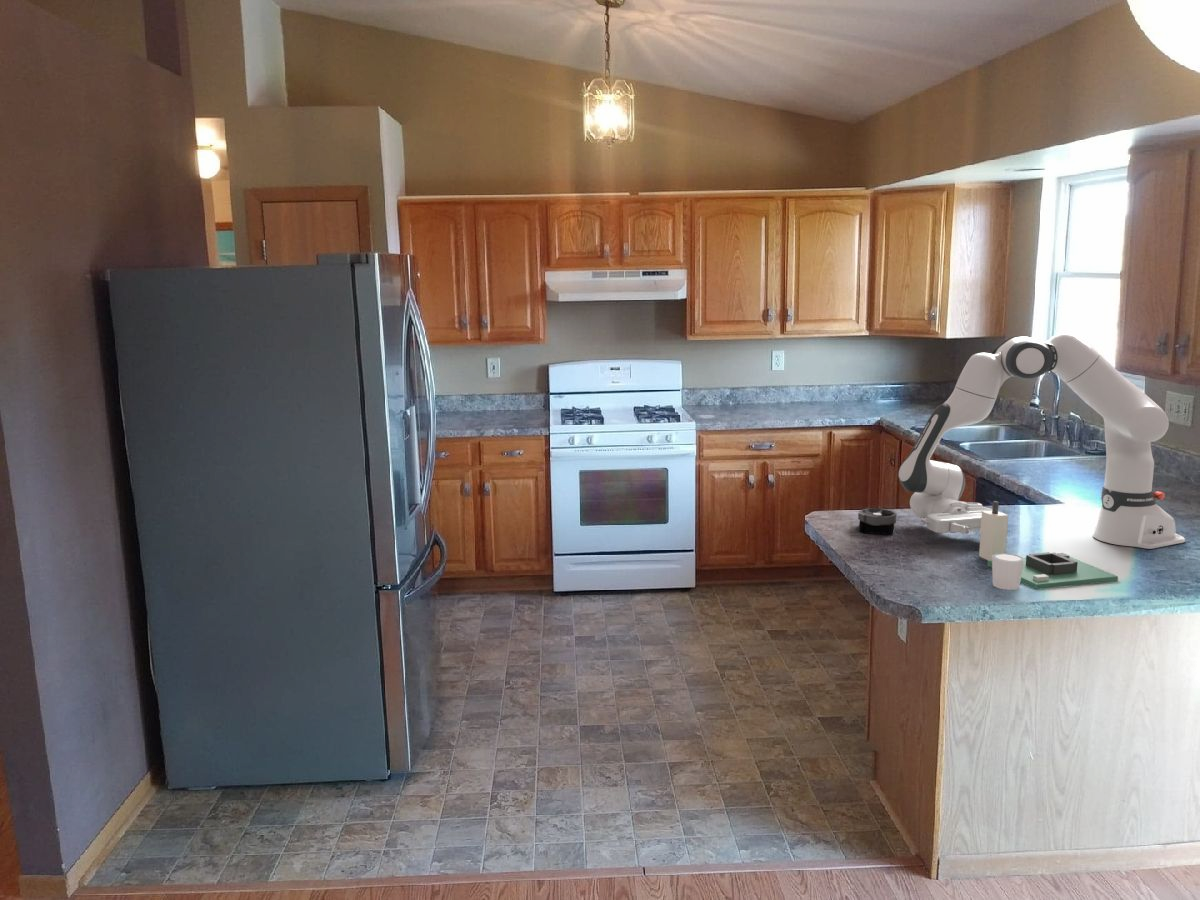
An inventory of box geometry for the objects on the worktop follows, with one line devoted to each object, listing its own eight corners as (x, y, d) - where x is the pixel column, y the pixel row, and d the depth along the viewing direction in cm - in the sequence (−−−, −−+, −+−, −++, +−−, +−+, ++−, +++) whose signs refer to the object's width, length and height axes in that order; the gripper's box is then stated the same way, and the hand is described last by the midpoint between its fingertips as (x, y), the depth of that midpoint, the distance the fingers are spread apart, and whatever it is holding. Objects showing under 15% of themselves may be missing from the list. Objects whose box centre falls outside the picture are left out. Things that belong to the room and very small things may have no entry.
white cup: (985, 586, 207) (987, 557, 205) (997, 578, 211) (998, 550, 210) (1015, 592, 202) (1017, 563, 200) (1026, 585, 206) (1029, 556, 205)
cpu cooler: (897, 509, 256) (895, 517, 246) (896, 528, 257) (894, 537, 247) (860, 506, 259) (857, 514, 250) (859, 525, 260) (856, 534, 251)
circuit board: (1063, 558, 226) (1064, 544, 225) (1117, 581, 208) (1119, 566, 208) (987, 565, 221) (988, 551, 220) (1036, 589, 204) (1037, 574, 203)
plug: (992, 554, 230) (996, 499, 227) (1005, 560, 225) (1009, 503, 222) (979, 556, 229) (982, 500, 226) (991, 561, 224) (995, 504, 221)
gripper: (917, 507, 241) (947, 520, 227) (984, 502, 245) (1017, 514, 231) (916, 529, 242) (946, 544, 229) (983, 524, 246) (1015, 537, 233)
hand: (982, 529), depth 230 cm, fingers open, 8 cm apart
